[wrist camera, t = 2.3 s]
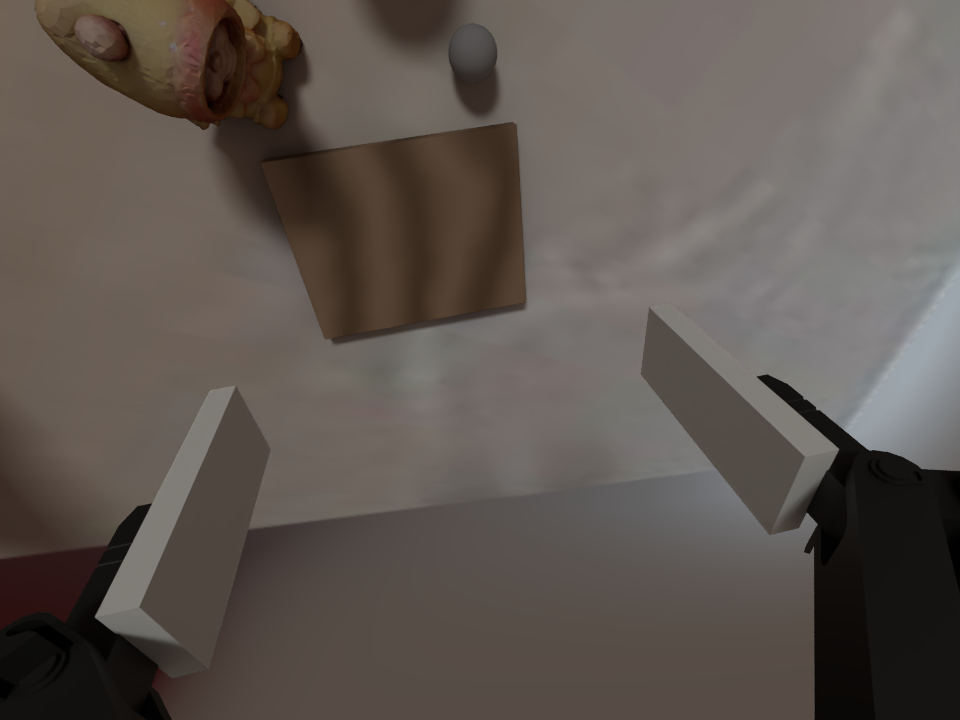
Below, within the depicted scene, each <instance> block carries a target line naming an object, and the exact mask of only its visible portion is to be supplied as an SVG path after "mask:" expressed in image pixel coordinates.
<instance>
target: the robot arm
mask: <svg viewBox="0 0 960 720" xmlns="http://www.w3.org/2000/svg"><path fill="white" fill-rule="evenodd" d="M641 375H642V376H643V378H644V379H645V380H646V381H647V383H648V384H649V385H650V386H651V388H652V389H653V390H654V391H655V393H656V394H657V395H658V396H659V398H660V399H661V400H662V401H663V403H664V404H665V405H666V406H667V408H668V409H669V410H670V411H671V413H672V414H673V415H674V416H675V418H676V419H677V420H678V421H679V423H680V424H681V425H682V426H683V428H684V429H685V430H686V431H687V433H688V434H689V435H690V436H691V438H692V439H693V440H694V441H695V443H696V444H697V445H698V446H699V448H700V449H701V450H702V451H703V453H704V454H705V455H706V456H707V458H708V459H709V460H710V461H711V463H712V464H713V465H714V466H715V468H716V469H717V470H718V471H719V473H720V474H721V475H722V476H723V478H724V479H725V480H726V481H727V483H728V484H729V485H730V486H731V488H732V489H733V490H734V491H735V493H736V494H737V495H738V496H739V498H740V499H741V500H742V501H743V503H744V504H745V505H746V506H747V508H748V509H749V510H750V511H751V513H752V514H753V515H754V516H755V518H756V519H757V520H758V521H759V523H760V524H761V525H762V526H763V527H764V529H765V530H766V531H767V533H768V534H769V535H772V534H776V533H780V532H784V531H789V530H793V529H797V528H799V527H800V525H801V522H802V521H803V519H804V517H805V515H806V513H808V514H809V515H810V516H811V517H812V518H813V519H814V520H815V522H816V523H818V525H817V527H816V528H815V530H814V532H813V534H812V536H811V537H810V539H809V541H808V543H807V545H806V547H805V551H804V552H805V553H808V554H810V552H811V550H812V549H813V547H814V634H815V635H814V639H815V640H814V646H815V647H814V648H815V650H814V652H815V653H814V655H815V657H814V658H815V659H814V661H815V720H960V471H946V470H927V469H921V468H919V466H917V465H916V464H914V463H912V462H910V461H909V460H907V459H905V458H903V457H901V456H898V455H895V454H892V453H889V452H883V451H876V450H872V451H869V450H868V449H866V448H865V447H864V446H862V445H861V444H860V443H859V442H858V441H856V440H855V439H854V438H853V437H851V436H850V435H849V434H848V433H847V432H845V431H844V430H843V429H842V428H841V427H839V426H838V425H837V424H836V423H834V422H833V421H832V420H831V419H830V418H828V417H827V416H826V415H825V414H823V413H822V412H821V411H820V410H818V411H817V410H816V407H815V406H814V405H813V404H811V403H810V402H809V401H808V400H804V399H803V396H802V395H800V394H799V393H798V392H797V391H795V390H794V389H793V388H792V387H791V386H789V385H788V384H786V383H784V382H782V381H780V380H778V379H776V378H774V377H772V376H769V375H762V376H758V377H756V376H755V375H753V374H752V373H751V372H750V371H749V370H748V369H747V368H745V367H744V366H743V365H742V364H741V363H740V362H739V361H737V360H736V359H735V358H734V357H733V356H732V355H731V354H729V353H728V352H727V351H726V350H725V349H724V348H722V347H721V346H720V345H719V344H718V343H717V342H716V341H714V340H713V339H712V338H711V337H710V336H709V335H708V334H706V333H705V332H704V331H703V330H702V329H701V328H700V327H698V326H697V325H696V324H695V323H694V322H693V321H691V320H690V319H689V318H688V317H687V316H686V315H685V314H683V313H682V312H681V311H680V310H679V309H678V308H677V307H675V306H674V305H673V304H672V303H669V304H664V305H658V306H653V307H649V313H648V321H647V329H646V337H645V344H644V352H643V360H642V368H641ZM269 453H270V447H269V445H268V444H267V442H266V440H265V438H264V436H263V434H262V433H261V431H260V429H259V427H258V425H257V423H256V421H255V420H254V418H253V416H252V414H251V412H250V410H249V409H248V407H247V405H246V403H245V401H244V399H243V398H242V396H241V394H240V392H239V390H238V388H237V387H236V386H231V387H226V388H221V389H215V390H210V391H209V393H208V395H207V397H206V399H205V401H204V403H203V405H202V407H201V409H200V411H199V413H198V415H197V417H196V419H195V421H194V423H193V425H192V427H191V428H190V430H189V432H188V434H187V436H186V438H185V440H184V442H183V444H182V446H181V448H180V450H179V452H178V454H177V456H176V458H175V460H174V462H173V464H172V466H171V468H170V470H169V472H168V474H167V476H166V478H165V480H164V482H163V484H162V486H161V488H160V490H159V492H158V493H157V495H156V497H155V499H154V501H153V503H151V504H146V505H142V506H137V507H136V508H135V510H134V511H133V512H132V513H131V514H130V515H129V516H128V517H127V518H126V519H125V520H124V521H123V522H122V523H121V524H120V525H119V527H118V528H117V530H116V532H115V534H114V536H113V537H112V539H111V541H110V543H109V545H108V546H107V547H108V550H107V551H105V552H104V554H103V556H102V557H101V559H100V561H99V563H98V568H96V569H95V570H94V572H93V574H92V575H91V577H90V579H89V581H88V583H87V584H86V586H85V588H84V590H83V592H82V594H81V595H80V597H79V599H78V601H77V602H76V604H75V606H74V608H73V610H72V611H71V613H70V615H69V617H68V619H67V620H66V622H65V623H64V622H62V621H61V620H60V619H58V618H57V617H56V616H54V615H53V614H51V613H46V612H37V613H34V614H31V615H27V616H24V617H22V618H20V619H18V620H17V621H15V622H13V623H11V624H9V625H7V626H6V627H4V628H3V629H2V630H0V720H172V719H171V717H170V715H169V713H168V711H167V709H166V707H165V705H164V703H163V701H162V699H161V697H160V695H159V693H158V692H157V691H156V690H155V689H154V688H153V687H152V686H151V685H152V682H153V679H154V677H155V674H156V671H157V669H158V668H160V669H161V670H162V671H164V672H165V673H166V674H167V675H169V676H170V677H171V678H175V677H179V676H184V675H188V674H191V673H196V672H200V671H204V670H208V669H209V667H210V663H211V660H212V656H213V652H214V649H215V645H216V642H217V638H218V635H219V631H220V628H221V624H222V620H223V617H224V613H225V610H226V606H227V603H228V599H229V595H230V592H231V588H232V585H233V581H234V578H235V574H236V571H237V567H238V563H239V560H240V556H241V553H242V549H243V545H244V542H245V538H246V535H247V531H248V528H249V524H250V521H251V517H252V513H253V510H254V506H255V503H256V499H257V496H258V492H259V488H260V485H261V481H262V478H263V474H264V471H265V467H266V464H267V460H268V456H269Z"/></svg>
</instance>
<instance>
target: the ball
mask: <svg viewBox="0 0 960 720" xmlns="http://www.w3.org/2000/svg"><path fill="white" fill-rule="evenodd" d="M496 60H497V47H496V43H495V40H494V38H493V36H492V34H491V33H490V32H489V31H488V30H487V29H486V28H485V27H483V26H481V25H478V24H467V25H464V26H462V27H461V28H459V29H458V30H457V31H456V32H455V34H454V35H453V37H452V39H451V41H450V45H449V61H450V65H451V67H452V69H453V71H454V72H455V73H456V75H457V76H458V77H460V78H461V79H462V80H464V81H467V82H479V81H482V80H484V79H485V78H487V77H488V76H489V75H490V73H491V72H492V70H493V69H494V66H495V64H496Z"/></svg>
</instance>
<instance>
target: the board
mask: <svg viewBox="0 0 960 720" xmlns="http://www.w3.org/2000/svg"><path fill="white" fill-rule="evenodd" d="M260 164H261V167H262V170H263V173H264V175H265V178H266V181H267V183H268V186H269V189H270V192H271V194H272V197H273V200H274V202H275V205H276V208H277V211H278V213H279V216H280V219H281V221H282V224H283V227H284V230H285V232H286V235H287V238H288V241H289V243H290V246H291V249H292V251H293V254H294V257H295V260H296V262H297V265H298V268H299V270H300V273H301V276H302V279H303V281H304V284H305V287H306V289H307V292H308V295H309V298H310V300H311V303H312V306H313V308H314V311H315V314H316V317H317V319H318V322H319V325H320V328H321V330H322V333H323V336H324V338H325V339H330V338H335V337H341V336H346V335H352V334H357V333H363V332H368V331H374V330H379V329H384V328H390V327H395V326H401V325H406V324H412V323H417V322H422V321H428V320H433V319H439V318H444V317H450V316H455V315H461V314H466V313H471V312H477V311H482V310H488V309H493V308H499V307H504V306H509V305H515V304H520V303H526V289H525V271H524V252H523V233H522V215H521V196H520V177H519V159H518V140H517V125H516V124H515V123H513V122H510V123H504V124H497V125H490V126H484V127H477V128H470V129H464V130H457V131H450V132H443V133H437V134H430V135H423V136H417V137H410V138H403V139H396V140H390V141H383V142H376V143H370V144H363V145H356V146H350V147H343V148H336V149H329V150H323V151H316V152H309V153H303V154H296V155H289V156H282V157H276V158H269V159H264V160H263V161H262V162H261V163H260Z"/></svg>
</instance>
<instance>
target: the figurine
mask: <svg viewBox="0 0 960 720" xmlns="http://www.w3.org/2000/svg"><path fill="white" fill-rule="evenodd" d="M35 10H36V12H37V19H38V21H39V23H40V25H41V27H42V28H43V30H44V31H45V32H46V33H47V34H48V35H49V36H50V38H51V39H52V40H53V41H54V42H55V44H56V45H57V46H58V47H59V48H60V49H61V50H62V51H63V52H64V53H65V54H66V55H68V56H69V57H70V58H71V59H72V60H73V61H74V62H76V63H77V64H78V65H79V66H80V67H82V68H83V69H84V70H86V71H87V72H88V73H89V74H91V75H92V76H93V77H95V78H96V79H97V80H99V81H100V82H101V83H103V84H104V85H106V86H108V87H110V88H112V89H114V90H116V91H118V92H120V93H122V94H123V95H125V96H127V97H129V98H131V99H133V100H135V101H137V102H138V103H140V104H142V105H144V106H145V107H148V108H150V109H152V110H154V111H156V112H158V113H161V114H164V115H167V116H170V117H176V118H185V119H188V120H189V121H191V122H192V123H194V124H195V125H196V126H199V127H200V128H201V129H202V130H205V129H207V128H208V127H209V124H210V123H213V124H215V125H217V126H219V125H220V124H221V123H220V120H222V119H225V118H226V117H228V116H230V117H233V118H236V117H238V118H241V119H242V117H247V118H252V119H253V120H254V122H255V123H258V124H262V125H263V126H265V127H266V128H269V129H278V128H280V127H281V126H282V125H283V124H284V123H285V121H286V118H287V112H288V104H287V103H286V102H285V101H284V100H283V98H282V96H280V95H278V94H277V93H278V90H279V87H280V85H281V83H282V78H283V65H282V61H283V60H287V59H292V58H295V57H296V56H297V55H299V54H300V52H301V46H302V41H301V39H300V37H299V34H298V32H297V31H295V30H294V29H293V28H292V26H291V25H290V24H289V23H286V22H284V21H281V20H277V19H276V18H275V17H272V16H269V17H266V16H265V15H263V14H262V12H261V11H259V10H258V9H257V8H256V6H253V5H252V4H251V3H250V2H249V1H248V0H36V1H35Z"/></svg>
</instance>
